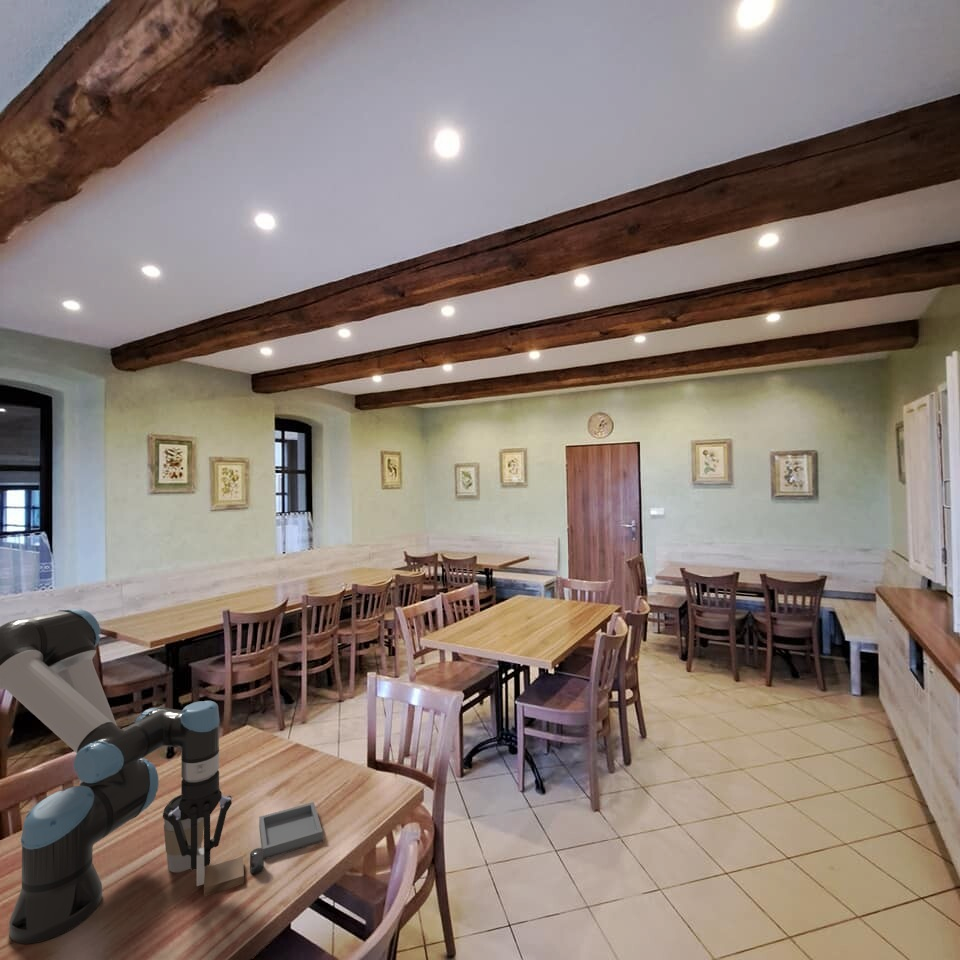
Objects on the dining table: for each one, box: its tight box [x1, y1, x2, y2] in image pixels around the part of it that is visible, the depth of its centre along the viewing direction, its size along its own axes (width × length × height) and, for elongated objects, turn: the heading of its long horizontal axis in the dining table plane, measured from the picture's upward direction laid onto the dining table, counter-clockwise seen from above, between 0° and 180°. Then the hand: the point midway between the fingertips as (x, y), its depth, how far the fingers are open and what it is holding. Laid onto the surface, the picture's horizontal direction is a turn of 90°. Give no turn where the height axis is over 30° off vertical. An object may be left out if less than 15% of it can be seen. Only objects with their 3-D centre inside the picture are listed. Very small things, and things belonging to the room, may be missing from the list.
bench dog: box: [249, 847, 265, 875], centre depth 120 cm, size 3×3×4 cm
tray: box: [258, 801, 324, 860], centre depth 133 cm, size 14×14×2 cm
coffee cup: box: [162, 794, 204, 873], centre depth 123 cm, size 9×9×15 cm
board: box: [203, 856, 245, 897], centre depth 117 cm, size 8×7×2 cm
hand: (200, 880), depth 115 cm, fingers closed
